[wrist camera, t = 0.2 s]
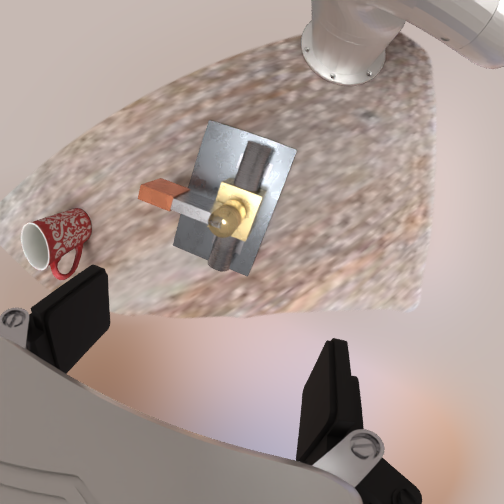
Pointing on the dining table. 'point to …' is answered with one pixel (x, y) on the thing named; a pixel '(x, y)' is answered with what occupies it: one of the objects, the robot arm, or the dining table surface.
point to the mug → (55, 239)
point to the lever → (194, 206)
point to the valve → (235, 193)
